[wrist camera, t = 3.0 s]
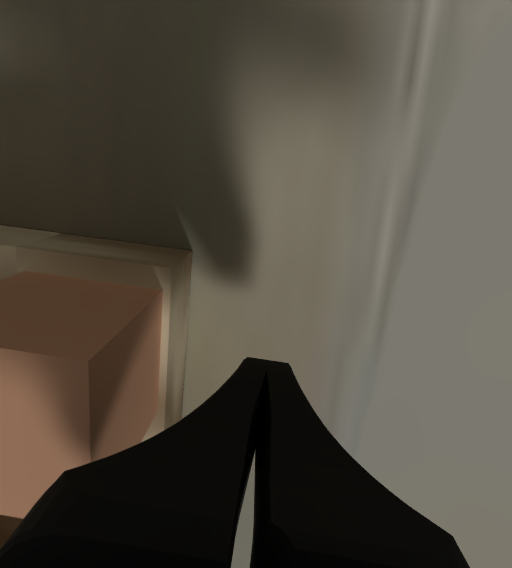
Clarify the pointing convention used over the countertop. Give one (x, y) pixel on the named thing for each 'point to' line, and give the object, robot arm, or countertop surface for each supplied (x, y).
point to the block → (72, 377)
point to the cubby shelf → (121, 270)
